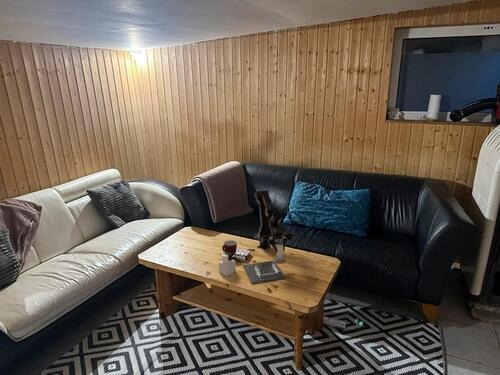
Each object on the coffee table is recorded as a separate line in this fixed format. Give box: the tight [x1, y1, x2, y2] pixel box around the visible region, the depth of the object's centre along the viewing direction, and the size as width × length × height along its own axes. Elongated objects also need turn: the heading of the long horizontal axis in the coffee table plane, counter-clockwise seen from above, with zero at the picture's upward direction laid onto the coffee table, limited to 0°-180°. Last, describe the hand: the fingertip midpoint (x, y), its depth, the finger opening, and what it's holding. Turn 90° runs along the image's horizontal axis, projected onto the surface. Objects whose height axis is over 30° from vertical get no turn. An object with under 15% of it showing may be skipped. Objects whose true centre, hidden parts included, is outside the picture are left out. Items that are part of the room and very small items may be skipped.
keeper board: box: [242, 260, 287, 285], centre depth 191 cm, size 20×20×2 cm
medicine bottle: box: [218, 252, 237, 277], centre depth 191 cm, size 7×7×12 cm
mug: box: [221, 239, 238, 256], centre depth 209 cm, size 10×8×10 cm
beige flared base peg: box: [273, 243, 286, 265], centre depth 189 cm, size 7×7×10 cm
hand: (280, 251), depth 188 cm, fingers closed on beige flared base peg, 4 cm apart
